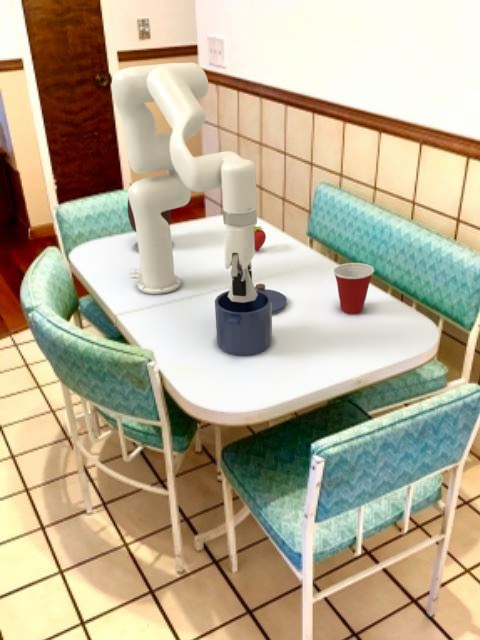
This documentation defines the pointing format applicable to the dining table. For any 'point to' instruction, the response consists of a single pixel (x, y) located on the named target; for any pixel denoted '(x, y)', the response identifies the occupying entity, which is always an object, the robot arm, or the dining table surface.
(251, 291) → the flask
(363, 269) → the plastic cup
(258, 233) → the strawberry
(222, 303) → the pot
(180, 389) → the dining table surface
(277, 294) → the pot lid
